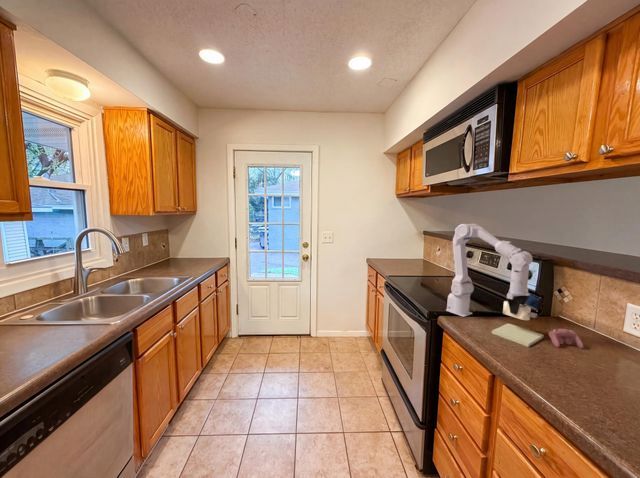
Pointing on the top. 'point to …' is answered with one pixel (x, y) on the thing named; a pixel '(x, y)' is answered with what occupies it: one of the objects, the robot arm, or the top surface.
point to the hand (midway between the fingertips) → (515, 312)
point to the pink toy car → (569, 337)
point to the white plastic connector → (519, 312)
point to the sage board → (518, 334)
